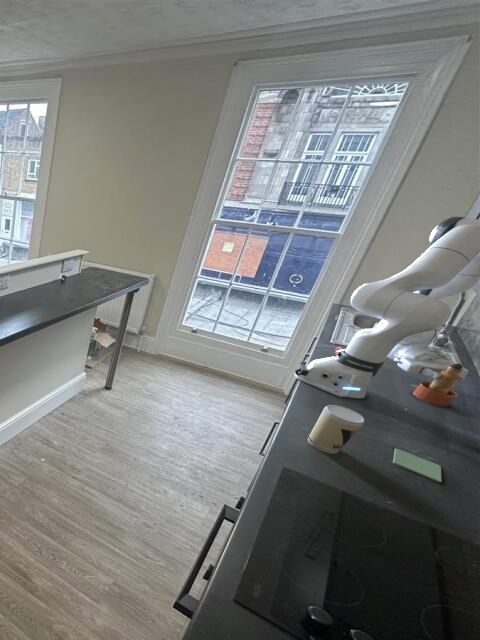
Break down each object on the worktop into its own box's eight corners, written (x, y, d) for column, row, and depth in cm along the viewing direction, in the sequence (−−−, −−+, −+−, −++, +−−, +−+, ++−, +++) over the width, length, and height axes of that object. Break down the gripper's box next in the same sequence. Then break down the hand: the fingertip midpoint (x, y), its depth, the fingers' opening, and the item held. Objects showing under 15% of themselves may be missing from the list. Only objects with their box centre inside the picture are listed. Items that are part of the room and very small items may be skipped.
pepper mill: (421, 397, 152) (449, 363, 144) (421, 393, 155) (449, 359, 147) (440, 403, 148) (470, 368, 141) (440, 399, 152) (469, 364, 144)
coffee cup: (332, 459, 116) (356, 426, 110) (298, 439, 123) (319, 407, 116) (347, 450, 120) (372, 418, 113) (313, 432, 127) (334, 401, 120)
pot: (411, 398, 152) (420, 387, 149) (412, 389, 158) (420, 379, 155) (448, 410, 146) (458, 399, 143) (447, 401, 152) (457, 390, 150)
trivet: (392, 463, 116) (394, 462, 116) (394, 449, 122) (395, 448, 122) (440, 483, 110) (441, 481, 110) (439, 466, 117) (440, 465, 116)
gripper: (396, 350, 157) (426, 367, 145) (451, 357, 155) (486, 374, 144) (386, 364, 160) (414, 382, 148) (440, 371, 159) (473, 389, 147)
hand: (450, 378), depth 146 cm, fingers open, 6 cm apart
